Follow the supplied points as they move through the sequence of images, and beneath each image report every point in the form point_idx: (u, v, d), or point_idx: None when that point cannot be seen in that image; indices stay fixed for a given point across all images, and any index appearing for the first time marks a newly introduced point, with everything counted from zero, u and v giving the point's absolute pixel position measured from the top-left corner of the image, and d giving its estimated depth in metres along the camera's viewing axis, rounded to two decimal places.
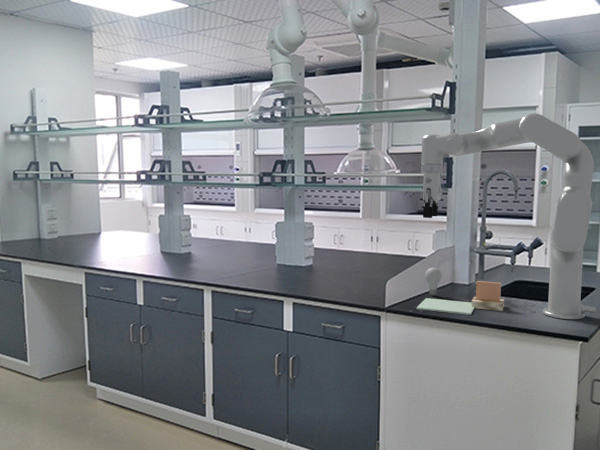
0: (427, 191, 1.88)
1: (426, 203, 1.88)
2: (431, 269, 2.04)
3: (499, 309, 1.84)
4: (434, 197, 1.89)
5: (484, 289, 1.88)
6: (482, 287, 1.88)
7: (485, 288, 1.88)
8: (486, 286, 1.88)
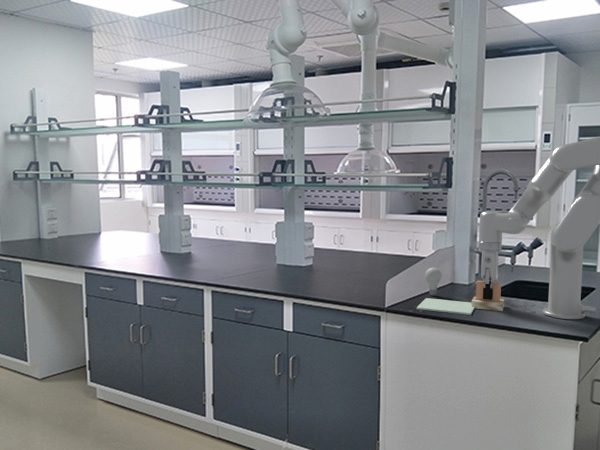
0: (487, 276, 1.83)
1: (487, 285, 1.85)
2: (431, 269, 2.04)
3: (499, 309, 1.84)
4: (494, 277, 1.82)
5: None
6: (482, 287, 1.88)
7: None
8: None
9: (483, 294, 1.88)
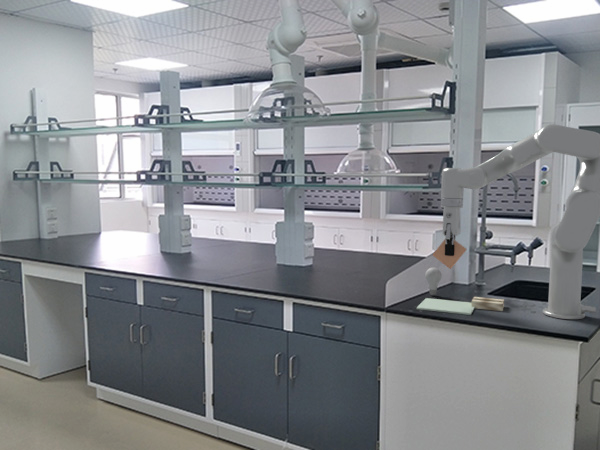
0: (448, 231, 1.84)
1: (448, 241, 1.87)
2: (431, 269, 2.04)
3: (499, 309, 1.84)
4: (454, 232, 1.84)
5: None
6: None
7: None
8: None
9: (445, 250, 1.89)
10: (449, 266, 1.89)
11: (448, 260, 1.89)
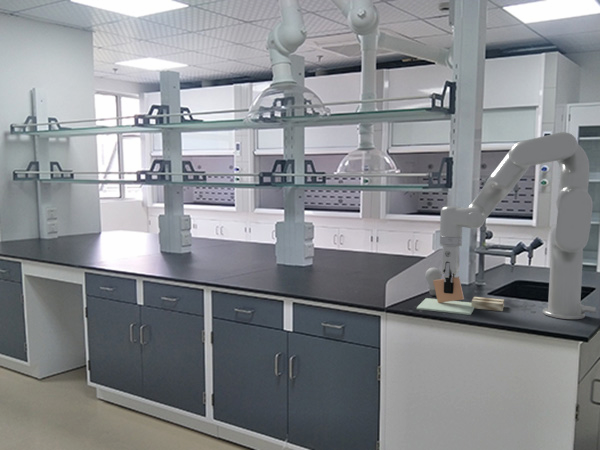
0: (447, 270, 1.85)
1: (447, 279, 1.87)
2: (431, 269, 2.04)
3: (499, 309, 1.84)
4: (453, 271, 1.85)
5: None
6: (454, 283, 1.89)
7: (454, 286, 1.89)
8: (456, 287, 1.89)
9: (444, 288, 1.90)
10: (439, 300, 1.92)
11: (442, 295, 1.91)
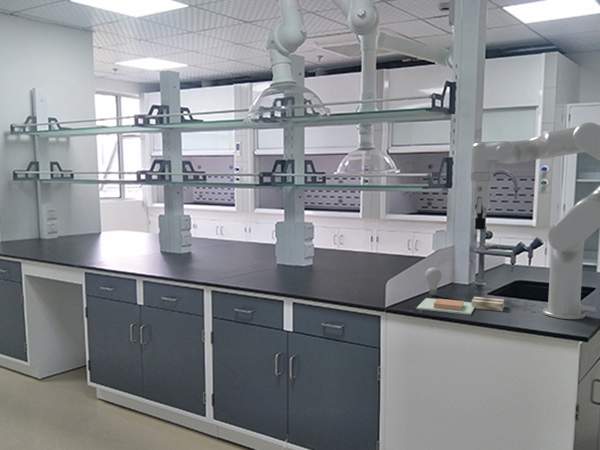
0: (479, 205, 1.86)
1: (479, 215, 1.89)
2: (431, 269, 2.04)
3: (499, 309, 1.84)
4: (485, 206, 1.85)
5: None
6: None
7: None
8: None
9: (475, 224, 1.91)
10: None
11: None
